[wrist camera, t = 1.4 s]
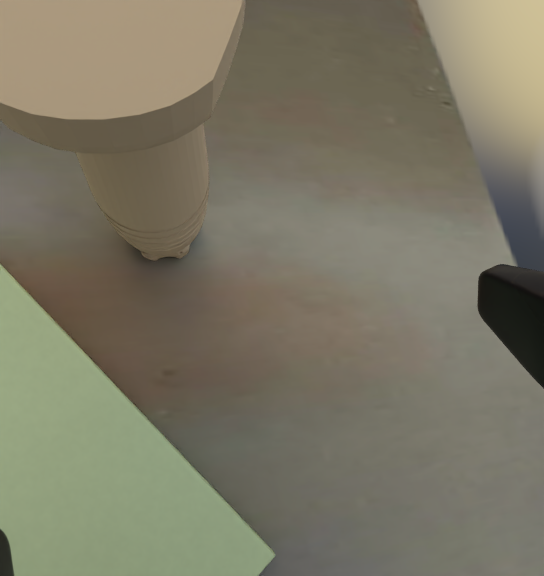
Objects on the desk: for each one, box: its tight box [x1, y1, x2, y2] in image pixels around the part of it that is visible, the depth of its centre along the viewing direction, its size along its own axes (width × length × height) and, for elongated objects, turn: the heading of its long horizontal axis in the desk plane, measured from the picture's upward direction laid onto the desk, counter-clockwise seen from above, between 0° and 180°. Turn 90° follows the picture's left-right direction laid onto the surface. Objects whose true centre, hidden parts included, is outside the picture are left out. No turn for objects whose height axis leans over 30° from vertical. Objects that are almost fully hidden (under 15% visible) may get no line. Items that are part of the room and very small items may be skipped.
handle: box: [0, 0, 245, 261], centre depth 15 cm, size 5×6×15 cm
